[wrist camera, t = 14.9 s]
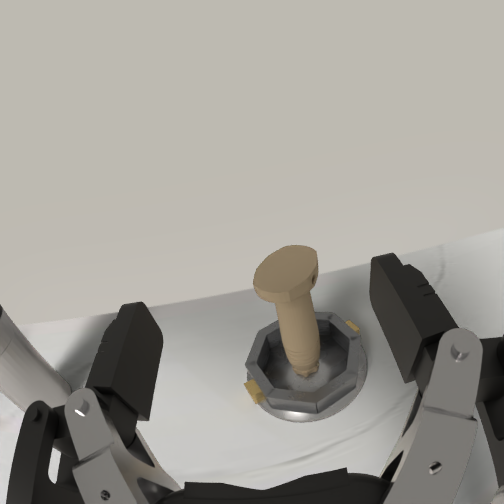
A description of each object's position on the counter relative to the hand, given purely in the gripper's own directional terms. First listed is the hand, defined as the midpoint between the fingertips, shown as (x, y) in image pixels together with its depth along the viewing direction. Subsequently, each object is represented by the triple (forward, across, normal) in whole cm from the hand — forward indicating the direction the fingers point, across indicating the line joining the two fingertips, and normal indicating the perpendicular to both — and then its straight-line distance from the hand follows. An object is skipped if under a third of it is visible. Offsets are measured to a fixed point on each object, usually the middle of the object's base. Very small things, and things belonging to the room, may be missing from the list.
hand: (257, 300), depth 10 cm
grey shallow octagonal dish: (+12, -2, +24) cm, 26 cm away
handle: (+12, -2, +23) cm, 26 cm away
